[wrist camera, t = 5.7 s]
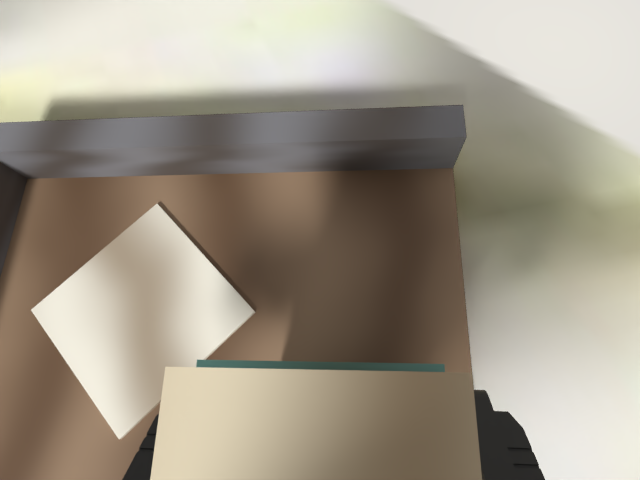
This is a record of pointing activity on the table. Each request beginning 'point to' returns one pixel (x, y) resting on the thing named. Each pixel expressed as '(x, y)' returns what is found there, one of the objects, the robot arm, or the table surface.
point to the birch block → (316, 422)
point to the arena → (213, 262)
